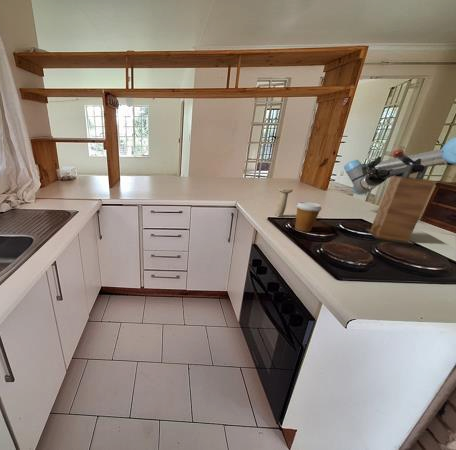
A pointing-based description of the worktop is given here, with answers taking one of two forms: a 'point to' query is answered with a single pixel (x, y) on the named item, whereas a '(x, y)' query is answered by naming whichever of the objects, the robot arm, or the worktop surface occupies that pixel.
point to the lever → (407, 160)
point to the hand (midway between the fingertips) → (399, 160)
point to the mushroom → (282, 201)
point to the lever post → (401, 206)
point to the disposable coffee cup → (306, 215)
